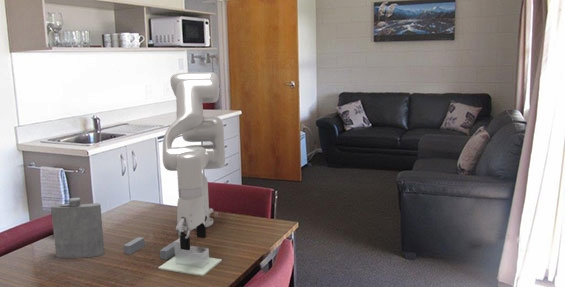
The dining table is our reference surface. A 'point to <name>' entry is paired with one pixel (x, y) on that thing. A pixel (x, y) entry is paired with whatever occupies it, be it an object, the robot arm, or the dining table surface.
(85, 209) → the hip flask
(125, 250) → the vise jaws
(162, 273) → the dining table surface
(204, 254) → the white pedestal stand
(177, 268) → the mat
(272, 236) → the dining table surface
